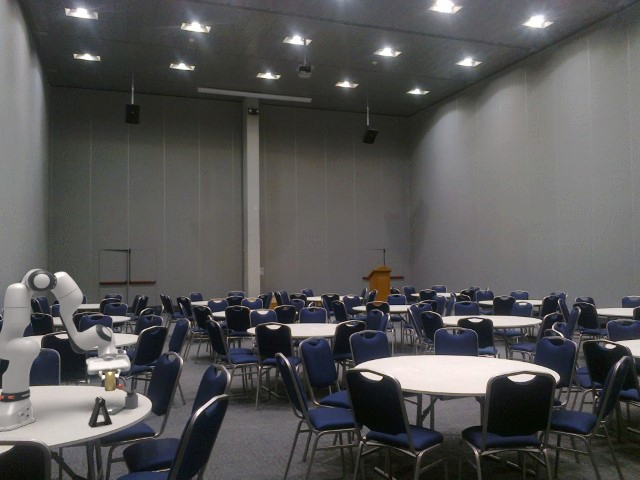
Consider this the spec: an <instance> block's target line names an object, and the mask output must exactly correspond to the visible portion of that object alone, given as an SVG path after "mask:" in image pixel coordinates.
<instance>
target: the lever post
mask: <svg viewBox="0 0 640 480" xmlns="http://www.w3.org/2000/svg"><path fill="white" fill-rule="evenodd" d="M128 389H129V388H128ZM129 390H131V389H129ZM133 391H134V395H129V394H128V393H126V396H125V397H124V406H125V409H124V410H129V409H132V410H135V409H137V408H138V407H139V395H138V393H137V392H138V391H137V389H134V390H133Z"/></svg>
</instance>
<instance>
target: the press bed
mask: <svg viewBox="0 0 640 480" xmlns="http://www.w3.org/2000/svg"><path fill="white" fill-rule="evenodd" d="M105 406H106V408H107V411H108V414H109V416H116V415H117V414H119V413H120V412H122V411H124V410H126V409H125V405H105ZM98 416H103V413H102V410H101V408H100V412H99V415H98Z"/></svg>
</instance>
